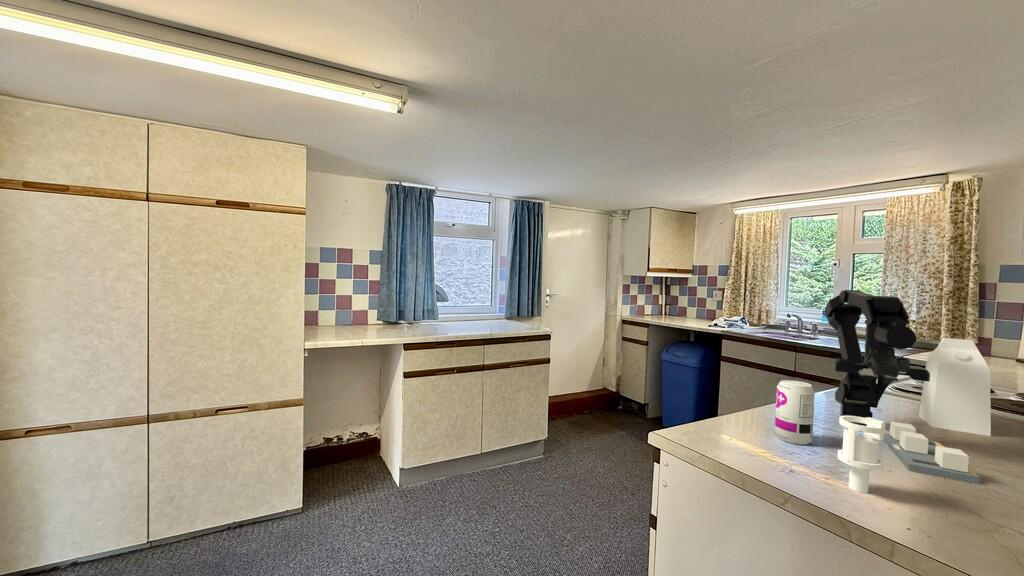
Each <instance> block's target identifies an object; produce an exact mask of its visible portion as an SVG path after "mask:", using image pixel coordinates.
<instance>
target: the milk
mask: <svg viewBox="0 0 1024 576" xmlns="http://www.w3.org/2000/svg"><path fill="white" fill-rule="evenodd" d="M925 363H926V364H925V368H924V369H926V370H927V371H929V373H930V381H923V383H922V391H921V398H920V406H919V414H918V415H919V417H920V418H921V419H922V420H923V422H925V421H926V422H927V423H928V424H929V425H928V424H927V425H928V426H929V427H930V428H936V429H943V430H944V429H945V430H948V429H949V431H950V430H951V431H956V432H963V433H966V434H967V433H968V434H975V435H981V436H988V437H991V433H992V431H991V429H992V428H991V422H992V421H991V420H992V419H991V417H992V415H991V413H992V412H991V370H990V367H989V365H988V363H987V361H986V360H985V359H984V357H983V355H982V354H981V352H980V350H979V349H978V347H977V345H976V344H975V342H974V340H972V339H964V338H963V339H961V338H949V337H948V338H947V337H943V338H941V340H940V342H939V344H938V345H937V347H936V348H935V349H934V350H933V351H932V352H931V353H930V354H929V355H928V357H927V358H926V362H925ZM926 422H925V423H926Z"/></svg>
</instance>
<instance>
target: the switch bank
mask: <svg viewBox="0 0 1024 576" xmlns="http://www.w3.org/2000/svg"><path fill="white" fill-rule="evenodd" d="M882 441H883V442H884V444H885V445H888V446H887V447H888V449H890V451H891V452H892V453H893V452H894V453H893V454H894V455H895V456H896V457H897V458H898V460H899V461H900V462H901V463H902V465H904V467H905V468H906V469H907V470H908V471H910V472H915V473H920V474H924V475H925V474H926V475H930V476H936V477H940V478H945V479H946V478H947V479H951V480H955V481H961V482H967V483H971V484H972V483H973V484H976V485H980V483H981V482H980V481H981V480H980V479H981V476H979V475H978V474H977V473H976V472H975V471H973V470H972V469H971V468H969V467H968V472H962V471H957V470H951V469H946V468H942V467H941V466H940V465H939V464H938V463H936V462H935V447H936V446H940V447H945V446H944V445H942V444H941V443H940V442H938V441H936V440H929V439H928V454H923V453H917V452H912V451H906V450H904V449H903V448H902V447H901V446H900V445H899V444H900V440H896V439H894V438H893V437H892V436H891V435H890V433H886V432H885V433H884V440H882Z"/></svg>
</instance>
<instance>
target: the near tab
mask: <svg viewBox="0 0 1024 576" xmlns="http://www.w3.org/2000/svg"><path fill="white" fill-rule="evenodd" d="M969 459H970V456H969V455H968V454H967V453H965V452H964V451H963V450H961V449H958V448H952V447H946V446H944V447H940V446H936V447H935V462H936V463H938V464H939V465H940V466H941V467H942V468H946V469H951V470H957V471H962V472H968V468H969Z"/></svg>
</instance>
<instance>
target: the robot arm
mask: <svg viewBox="0 0 1024 576" xmlns="http://www.w3.org/2000/svg"><path fill="white" fill-rule="evenodd" d="M862 315H863V316H864V318H865V320H864V324H865V325H866V326H865V340H864V341H865V343H864V359H863V356H862V350H861V346H860V342H859V338H858V333H857V329H856V326H857V324H858V323H859V321H860V320H861V316H862ZM824 316H825V317H826V318H827V323H828V325H829V326H831V327H832V328H833V329H834V330H835V331H836V335H837V341H838V345H839V350H840V355H841V358H838V357H837V358H836V357H835V358H834V359H832V362H831V363H832V364H831V368H832V369H833V370H834V371H835V372H841V373H844V374H843V377H842V378H841V379H840V381H839V386H838V388H837V389H836V391H835V392H834V400H835V401H836V402H838V403H839V404H840V411H839V412H840V416H857V417H863V418H867V417H869V418H870V417H871V418H873V416H874V413H873V411H872V410H871V408H874V409H877V408H878V405H879V401H881V398H882V396H883V395H884V393H885V391H886V389H887V388H888V387H889V385H890V384H892V383H893V382H899V378H898V376H907V377H909V378H911V379H912V380H913V381H921V382H924V381H930V373H929V371H927V370H926V369H925V368H924V367H922V366H918V365H911V360H910V358H907V357H897V356H896V349H897V350H906V349H909V348H911V347H913V346H914V345H915V344H916V340H917V336H916V334H915V332H914V331H913V330H912V329H911V328H910V327H908V326H907V325H909V323H910V321H909V319H910V315H909V314H908V312H907V310H906V308H905V307H904V303H903V302H902V301H901V299H900V297H898V296H893V295H892V296H891V295H888V296H886V295H885V296H884V295H873V294H870V293H867V292H865V291H862V290H860V289H844V290H841V291H840V293H839V295H837V296H835V297H833V298H831V299H829V300H828V302H827V304H826V306H825V307H824ZM840 416H839V417H840ZM850 423H853V424H857V425H861V426H867V424H864V423H858V422H850Z"/></svg>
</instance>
